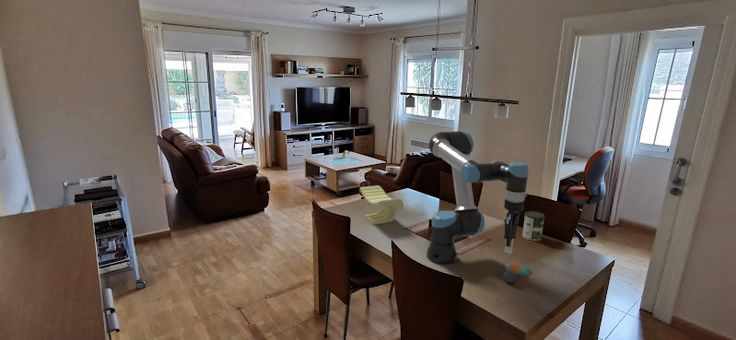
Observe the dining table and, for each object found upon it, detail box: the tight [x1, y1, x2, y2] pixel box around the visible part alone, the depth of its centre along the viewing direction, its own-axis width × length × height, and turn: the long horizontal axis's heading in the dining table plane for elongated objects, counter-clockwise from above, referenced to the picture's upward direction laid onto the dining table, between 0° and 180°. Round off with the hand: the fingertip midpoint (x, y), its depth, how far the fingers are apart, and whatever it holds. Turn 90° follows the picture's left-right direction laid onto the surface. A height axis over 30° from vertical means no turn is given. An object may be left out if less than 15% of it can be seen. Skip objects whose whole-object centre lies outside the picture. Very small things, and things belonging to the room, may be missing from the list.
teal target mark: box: [504, 262, 533, 277], centre depth 175 cm, size 12×12×1 cm
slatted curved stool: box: [359, 185, 404, 225], centre depth 232 cm, size 30×16×18 cm, turn 23°
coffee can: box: [522, 210, 546, 242], centre depth 210 cm, size 10×10×14 cm
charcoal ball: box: [503, 270, 518, 284], centre depth 164 cm, size 6×6×6 cm
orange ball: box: [509, 261, 522, 274], centre depth 171 cm, size 6×6×6 cm
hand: (508, 252), depth 156 cm, fingers closed
